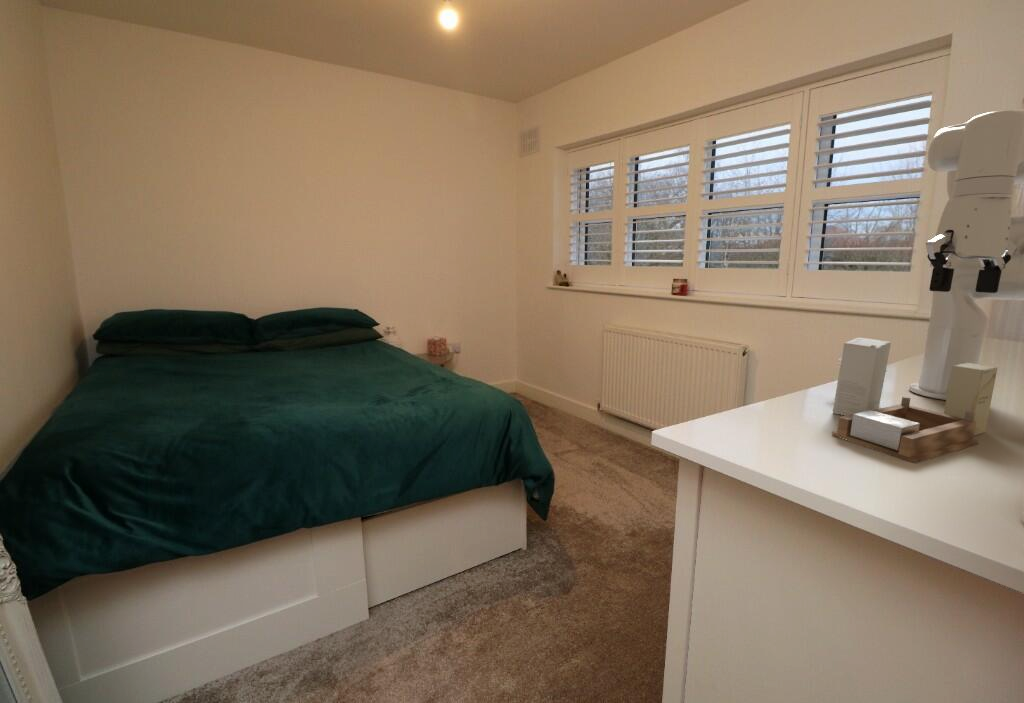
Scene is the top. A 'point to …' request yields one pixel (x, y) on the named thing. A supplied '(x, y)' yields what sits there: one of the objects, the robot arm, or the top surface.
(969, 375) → the skincare box
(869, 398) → the skincare box
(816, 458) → the top surface
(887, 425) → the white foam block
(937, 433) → the holder
